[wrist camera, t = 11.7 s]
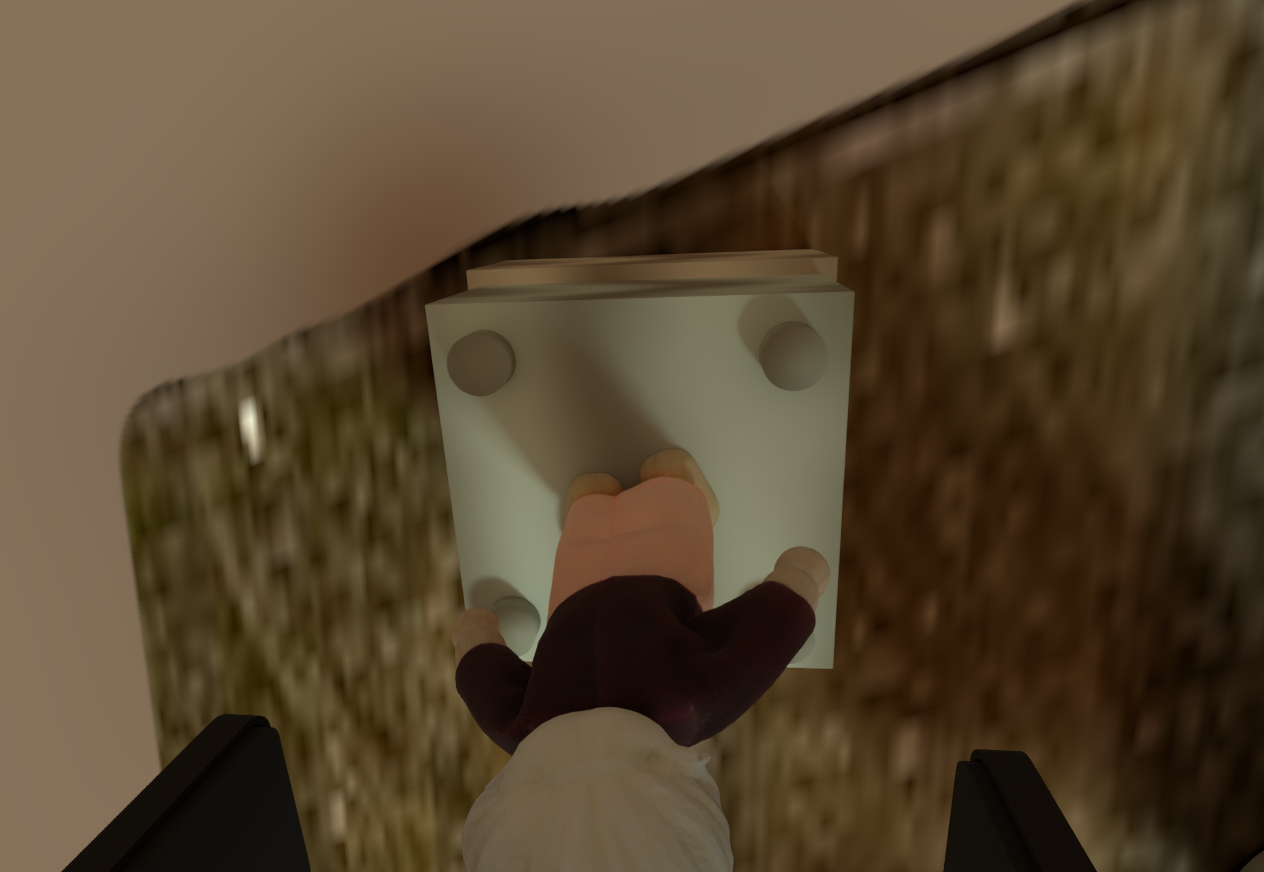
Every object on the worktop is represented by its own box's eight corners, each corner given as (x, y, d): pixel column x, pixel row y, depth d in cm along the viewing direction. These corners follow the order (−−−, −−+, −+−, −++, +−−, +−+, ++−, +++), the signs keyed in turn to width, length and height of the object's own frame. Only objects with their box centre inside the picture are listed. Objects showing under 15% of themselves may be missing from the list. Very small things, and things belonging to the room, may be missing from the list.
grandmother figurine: (571, 606, 20) (385, 1172, 8) (505, 500, 19) (192, 963, 7) (812, 505, 19) (1016, 1037, 7) (753, 383, 18) (864, 742, 6)
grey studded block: (813, 248, 26) (885, 272, 16) (801, 533, 30) (855, 701, 20) (506, 260, 27) (390, 289, 17) (532, 532, 31) (450, 689, 21)
